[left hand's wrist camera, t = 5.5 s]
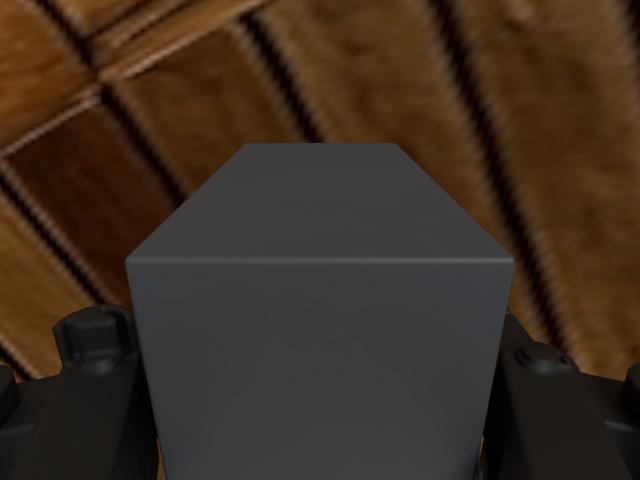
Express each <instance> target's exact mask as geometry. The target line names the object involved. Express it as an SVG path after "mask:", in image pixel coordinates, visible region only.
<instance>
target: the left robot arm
mask: <svg viewBox="0 0 640 480" xmlns="http://www.w3.org/2000/svg"><path fill="white" fill-rule="evenodd" d="M52 330H53V334H54V337H55V341H56V344H57V348H58V352H59V355H60V359H61V362H62V366H63V367H62V369H61V371H60V373H59V375H55V376H51V377H46V378H41V379H36V380H31V381H26V382H21V383H16V380H15V377H14V374H13V371H12V370H11V369H10V368H8V367H7V366H6V365H0V480H157V474H158V466H159V451H158V445H157V438H158V435H157V429H156V424H155V419H154V414H153V408H152V403H151V398H150V392H149V387H148V382H147V377H146V371H145V366H144V361H143V355H142V350H141V345H140V340H139V334H138V329H137V324H136V318H135V313H134V309H133V310H132V311H130V310H129V309H128V308H127V307H124V306H120V305H115V304H112V305H98V306H93V307H88V308H84V309H82V310H79V311H76V312H73V313H71V314H69V315H68V316H66V317H64V318H63V319H61V320H59V321H58V323H57V324H56V325H55V326H54V327H53V328H52ZM483 437H484V440H483V445H482V451H481V456H480V461H479V466H478V472H477V477H476V480H640V363H636V364H634V365H633V366H631V367H630V368H629V369H628V372H627V375H626V378H625V381H619V380H614V379H609V378H604V377H599V376H594V375H589V374H585V373H581V372H580V370H579V368H578V366H577V365H576V364H575V362H574V361H573V360H572V359H571V357H569V356H568V355H566V354H565V353H563V352H562V351H561V350H559V349H557V348H554V347H552V346H550V345H547V344H545V343H541V342H536V341H534V340H533V339H532V338H531V337H530V335H529V334H528V333H527V332H526V330H525V329H524V328H523V326H522V325H521V324H520V323H519V321H518V320H517V319H516V318H515V316H514V315H513V314H511V311H510V310H509V309H508V307H507V308H506V313H505V319H504V324H503V329H502V334H501V340H500V345H499V350H498V356H497V361H496V366H495V372H494V377H493V382H492V387H491V393H490V398H489V403H488V409H487V414H486V419H485V424H484V430H483Z"/></svg>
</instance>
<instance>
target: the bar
mask: <svg viewBox="0 0 640 480" xmlns="http://www.w3.org/2000/svg"><path fill="white" fill-rule="evenodd" d="M125 266H126V271H127V276H128V281H129V287H130V292H131V297H132V303H133V308H134V313H135V318H136V324H137V329H138V334H139V340H140V345H141V350H142V355H143V361H144V366H145V371H146V377H147V382H148V387H149V392H150V398H151V403H152V408H153V414H154V419H155V424H156V429H157V435H158V440H159V445H160V451H161V456H162V461H163V466H164V472H165V477H166V480H474V477H475V472H476V467H477V461H478V456H479V451H480V446H481V440H482V435H483V430H484V424H485V419H486V414H487V409H488V403H489V398H490V393H491V387H492V382H493V377H494V372H495V366H496V361H497V356H498V350H499V345H500V340H501V334H502V329H503V324H504V319H505V313H506V308H507V303H508V297H509V292H510V287H511V282H512V276H513V271H514V266H515V262H514V258H513V257H512V256H511V255H510V254H509V253H508V252H507V251H506V250H505V249H504V248H503V247H502V246H501V245H500V244H499V243H498V242H497V241H496V240H495V239H494V238H493V237H491V236H490V235H489V234H488V233H487V232H486V231H485V230H484V229H483V228H482V227H481V226H480V225H479V224H478V223H477V222H476V221H475V220H474V219H473V218H472V217H471V216H470V215H469V214H468V213H467V212H466V211H465V210H464V209H463V208H461V207H460V206H459V205H458V204H457V203H456V202H455V201H454V200H453V199H452V198H451V197H450V196H449V195H448V194H447V193H446V192H445V191H444V190H443V189H442V188H441V187H440V186H439V185H438V184H437V183H436V182H435V181H434V180H433V179H431V178H430V177H429V176H428V175H427V174H426V173H425V172H424V171H423V170H422V169H421V168H420V167H419V166H418V165H417V164H416V163H415V162H414V161H413V160H412V159H411V158H410V157H409V156H408V155H407V154H406V153H405V152H404V151H403V150H401V149H400V148H399V147H398V146H397V145H396V144H395V143H246V144H244V145H243V146H242V147H241V148H240V149H239V150H238V151H237V152H236V153H235V154H234V155H233V156H232V157H231V158H230V159H229V160H228V161H227V162H225V163H224V164H223V165H222V166H221V167H220V168H219V169H218V170H217V171H216V172H215V173H214V174H213V175H212V176H211V177H210V178H209V179H208V180H207V181H206V182H205V183H204V184H203V185H202V186H201V187H199V188H198V189H197V190H196V191H195V192H194V193H193V194H192V195H191V196H190V197H189V198H188V199H187V200H186V201H185V202H184V203H183V204H182V205H181V206H180V207H179V208H178V209H177V210H176V211H175V212H173V213H172V214H171V215H170V216H169V217H168V218H167V219H166V220H165V221H164V222H163V223H162V224H161V225H160V226H159V227H158V228H157V229H156V230H155V231H154V232H153V233H152V234H151V235H150V236H149V237H147V238H146V239H145V240H144V241H143V242H142V243H141V244H140V245H139V246H138V247H137V248H136V249H135V250H134V251H133V252H132V253H131V254H130V255H129V256H128V257H127V258H126V262H125Z"/></svg>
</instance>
